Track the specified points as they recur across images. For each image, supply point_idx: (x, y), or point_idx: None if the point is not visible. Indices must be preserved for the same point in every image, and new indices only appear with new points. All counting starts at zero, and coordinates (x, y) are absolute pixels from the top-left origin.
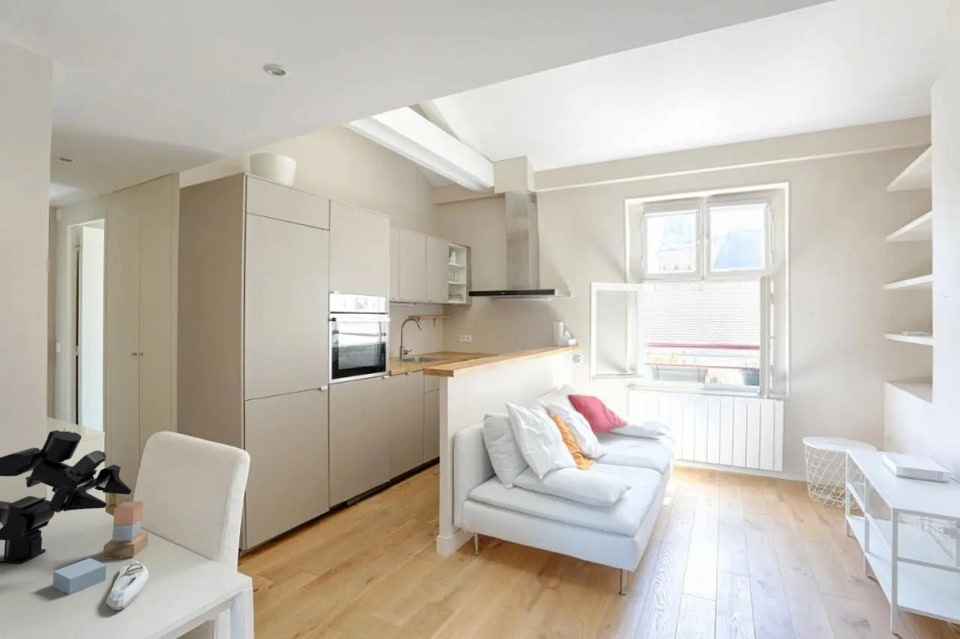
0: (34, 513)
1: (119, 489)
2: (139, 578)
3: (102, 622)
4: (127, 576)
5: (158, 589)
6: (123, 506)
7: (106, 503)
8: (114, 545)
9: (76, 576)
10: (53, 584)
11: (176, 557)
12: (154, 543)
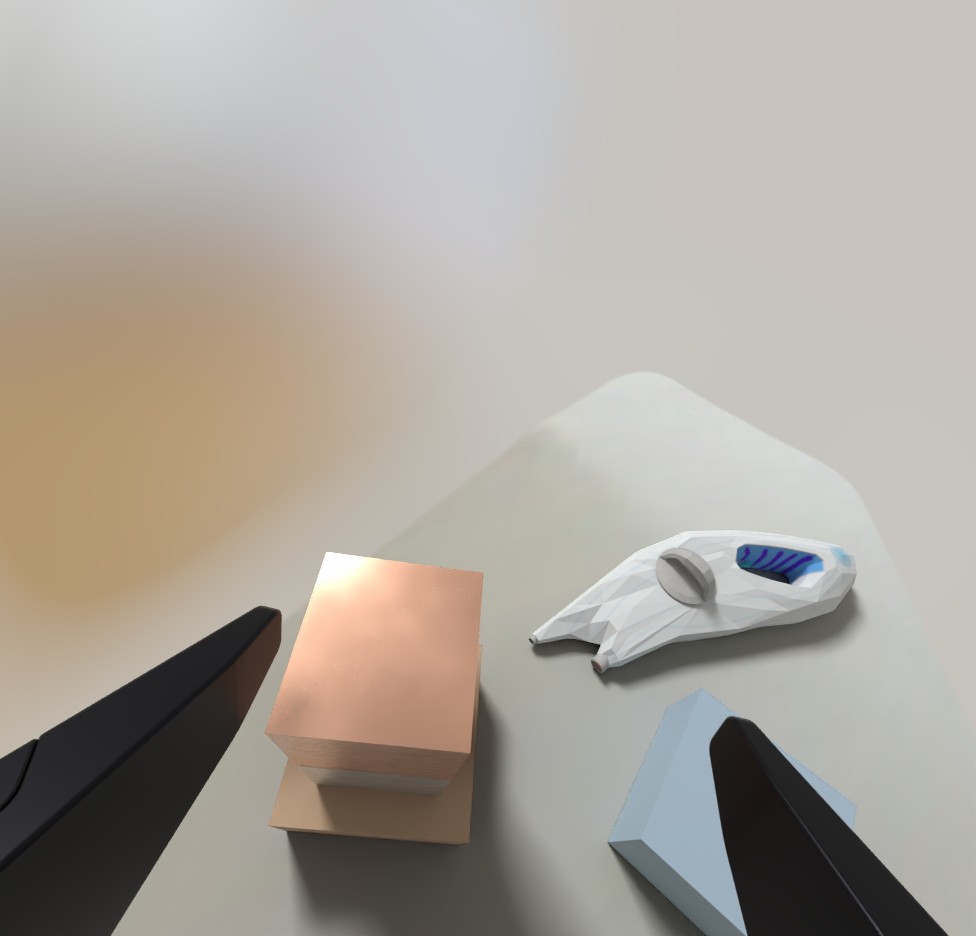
0: None
1: (159, 797)
2: (742, 536)
3: (877, 595)
4: (722, 585)
5: (702, 510)
6: (430, 675)
7: (736, 718)
8: (472, 763)
9: (826, 787)
10: None
11: (500, 508)
12: None
